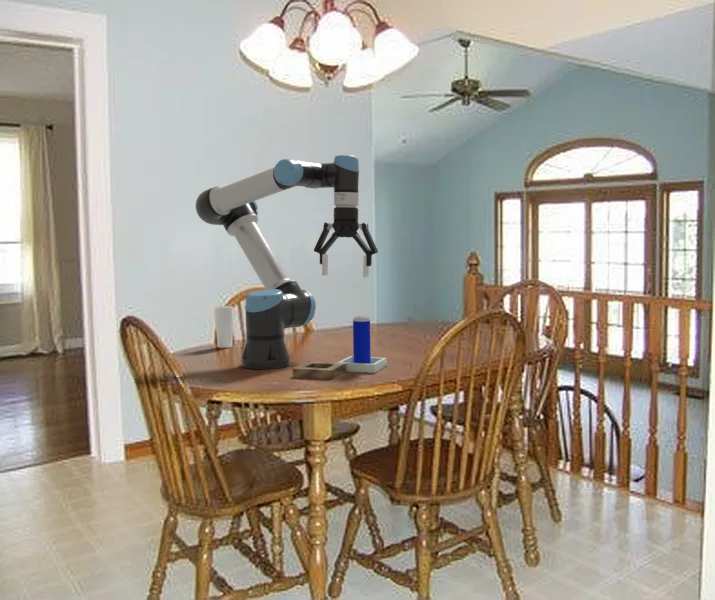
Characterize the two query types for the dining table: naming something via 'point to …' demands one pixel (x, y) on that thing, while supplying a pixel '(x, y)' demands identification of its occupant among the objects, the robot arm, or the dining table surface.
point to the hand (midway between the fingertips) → (345, 276)
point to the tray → (364, 365)
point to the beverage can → (361, 340)
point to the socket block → (319, 370)
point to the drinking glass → (224, 326)
